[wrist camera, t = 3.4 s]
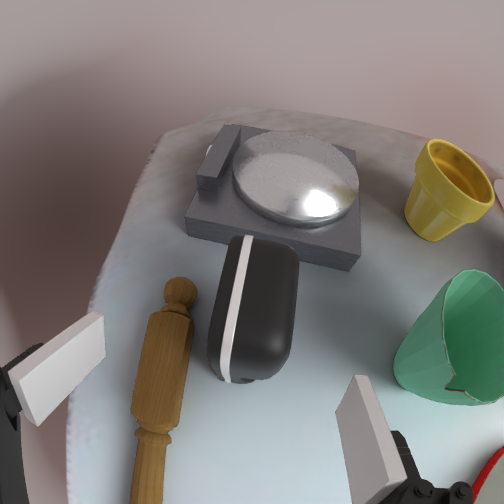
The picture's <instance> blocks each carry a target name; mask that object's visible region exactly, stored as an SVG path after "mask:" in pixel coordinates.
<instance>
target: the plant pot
mask: <svg viewBox="0 0 504 504" xmlns="http://www.w3.org/2000/svg"><path fill="white" fill-rule="evenodd" d="M415 172H416V177H415V180H414V183H413V186H412V189H411V191H410V194H409V197H408V200H407V202H406V205H405V209H404V213H405V217H406V220H407V222H408V224H409V225H410V227H411V228H412V229H413V230H414V232H415V233H417V234H418V235H419V236H420V237H422V238H423V239H425V240H428V241H431V242H436V241H439V240H441V239H443V238H444V237H446V236H447V235H449V234H450V233H452V232H453V231H455V230H457V229H458V228H460V227H461V226H463V225H464V224H466V223H474V222H476V221H478V220H479V219H480V218H481V217H482V216H483V215H484V214H485V213H486V212H487V211H488V209H489V208H490V207H491V206H492V205H493V203H494V199H495V196H494V191H493V188H492V185H491V183H490V181H489V179H488V178H487V176H486V175H485V173H484V172H483V170H482V169H481V168H480V167H479V166H478V164H477V163H476V162H475V161H474V160H473V159H472V158H471V157H469V156H468V155H467V154H466V153H465V152H463V151H462V150H461V149H459V148H458V147H456V146H455V145H453V144H451V143H449V142H446V141H444V140H440V139H431V140H429V141H428V142H427V143H426V144H425V146H424V148H423V149H422V151H421V153H420V155H419V157H418V159H417V161H416V164H415Z"/></svg>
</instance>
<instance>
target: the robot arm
mask: <svg viewBox="0 0 504 504" xmlns="http://www.w3.org/2000/svg"><path fill="white" fill-rule="evenodd" d="M105 357H106V351H105V337H104V315H102V314H99V313H97V312H94V311H91V312H90V313H89V314H87V315H86V316H84V317H83V318H81V319H80V320H78V321H77V322H76V323H74V324H73V325H71V326H70V327H68V328H67V329H66V330H64V331H63V332H61V333H60V334H58V335H57V336H56V337H54V338H53V339H51V340H50V341H49V342H47V343H46V344H45V345H44V344H43V343H40V344H36V345H33V346H32V347H30V348H29V349H27V350H26V352H23V353H22V354H21V355H20V356H18V357H16V358H15V359H13V360H12V361H11V362H9V363H8V364H7V365H5V366H4V367H2V368H1V367H0V504H29V499H28V494H27V489H26V483H25V476H24V469H23V460H22V448H21V431H20V429H21V426H20V414H19V412H20V411H21V410H23V412H24V414H25V416H26V418H27V419H28V420H29V421H31V422H32V423H34V424H35V425H36V426H39V425H40V424H41V423H42V422H43V421H44V420H45V419H46V417H47V416H49V414H50V413H51V412H52V411H53V410H54V409H55V408H56V407H57V406H58V405H59V404H60V403H61V402H62V401H63V400H64V399H65V398H66V397H67V396H68V395H69V394H70V392H71V391H72V390H73V389H74V388H75V387H76V386H77V385H78V384H79V383H80V382H81V381H82V380H83V379H84V378H85V377H86V376H87V375H88V374H89V373H90V372H91V371H92V370H93V369H94V368H95V367H96V366H97V365H98V364H99V363H100V362H101V361H102V360H103V359H104V358H105ZM335 413H336V418H337V422H338V427H339V432H340V437H341V442H342V448H343V453H344V458H345V464H346V469H347V475H348V481H349V486H350V493H351V499H352V504H473V490H472V488H471V486H470V485H469V484H467V483H465V482H457V483H455V484H453V485H452V486H451V487H450V488H449V489H446V488H434V486H433V485H432V483H430V482H429V481H427V480H424V479H421V477H420V475H419V472H418V470H417V467H416V465H415V462H414V459H413V457H412V455H411V452H410V450H409V448H408V445H407V442H406V440H405V438H404V437H403V436H402V434H401V433H400V432H399V431H398V430H397V431H390V429H389V427H388V424H387V421H386V419H385V416H384V414H383V411H382V409H381V407H380V404H379V402H378V399H377V397H376V394H375V392H374V390H373V387H372V385H371V383H370V380H369V378H368V376H366V375H355V374H354V376H353V378H352V380H351V382H350V384H349V387H348V389H347V391H346V393H345V395H344V397H343V399H342V401H341V403H340V404H339V406H338V408H337V410H336V412H335Z"/></svg>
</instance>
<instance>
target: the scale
mask: <svg viewBox="0 0 504 504" xmlns="http://www.w3.org/2000/svg"><path fill="white" fill-rule="evenodd" d="M196 179H197V188H198V190H197V192H196V194H195V196H194V198H193V200H192V202H191V204H190V206H189V208H188V210H187V213H186V215H185V221H186V226H187V231H188V236H191V237H196V238H201V239H205V240H210V241H214V242H219V243H223V244H228V245H229V243H230V241H231V239H232V238H233V237H234V236H236V235H241V236H245V235H251V236H254V238H258V239H264V240H270V241H276V242H281V243H284V244H287V245H289V246H290V247H292V248H293V249H294V250H295V252H296V253H297V255H298V259H299V261H304V262H308V263H313V264H317V265H322V266H326V267H331V268H335V269H340V270H344V271H350V270H351V268H352V267H353V266H354V264H355V263H356V261H357V260H358V259H359V257H360V256H361V234H360V207H359V179H358V175H357V165H356V155H355V151H354V150H351V149H347V148H344V147H340V146H336V145H333V144H329V143H327V142H325V141H324V140H321V139H319V138H317V137H314V136H311V135H307V134H304V133H298V132H291V131H271V130H266V129H260V128H254V127H248V126H242V125H235V124H232V125H224V126H223V127H222V129H221V131H220V132H219V134H218V136H217V137H216V139H215V141H214V143H213V144H211V145H210V146H209V148H208V150H207V152H206V156H205V159H204V160H203V162H202V164H201V166H200V168H199V170H198V171H197V173H196Z"/></svg>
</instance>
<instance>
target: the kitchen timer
mask: <svg viewBox="0 0 504 504" xmlns="http://www.w3.org/2000/svg"><path fill="white" fill-rule="evenodd" d="M472 490H473V504H504V447H503V448H502V449H500V450H498V452H497V453H496V454H495V455H494V456H493V457H492V458H491V459H490V460H489V461H488V463H487V464H486V466H485V467H484V468H483V470H482V471H481V472H480V474H479V476H478V478H477V479H476V481H475V483H474V484H473V486H472Z"/></svg>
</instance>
